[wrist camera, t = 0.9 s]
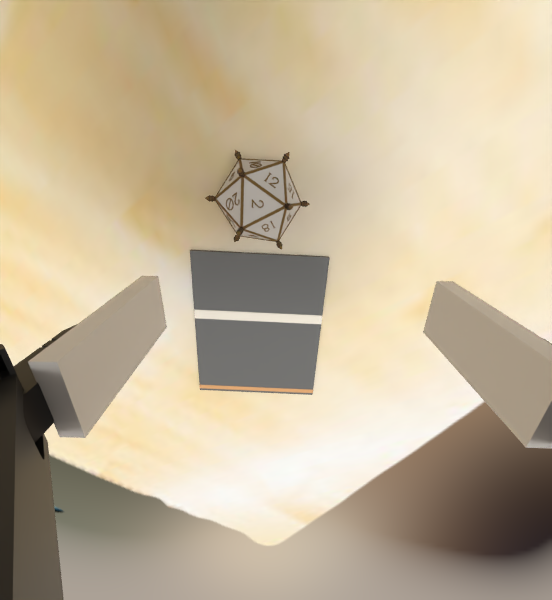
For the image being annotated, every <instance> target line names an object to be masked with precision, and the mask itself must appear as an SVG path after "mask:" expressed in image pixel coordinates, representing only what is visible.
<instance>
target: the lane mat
mask: <svg viewBox="0 0 552 600" xmlns="http://www.w3.org/2000/svg"><path fill="white" fill-rule="evenodd" d="M190 257H191V271H192V285H193V299H194V316H195V326H196V340H197V354H198V368H199V382H200V390H219V391H241V392H264V393H287V394H309V395H312V393H313V385H314V377H315V369H316V361H317V353H318V345H319V337H320V329H321V323H322V313H323V305H324V297H325V289H326V281H327V273H328V265H329V257H322V256H302V255H282V254H261V253H241V252H221V251H201V250H190Z"/></svg>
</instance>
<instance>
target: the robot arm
mask: <svg viewBox="0 0 552 600" xmlns="http://www.w3.org/2000/svg"><path fill="white" fill-rule="evenodd" d="M166 327H167V326H166V320H165V314H164V308H163V302H162V296H161V290H160V285H159V279H158V276H141V277H140V278H139V279H137V280H136V281H135V282H133V283H132V284H131V285H129V286H128V287H127V288H125V289H124V290H123V291H121V292H120V293H119V294H117V295H116V296H115V297H113V298H112V299H111V300H109V301H108V302H107V303H105V304H104V305H103V306H101V307H100V308H99V309H97V310H96V311H95V312H93V313H92V314H91V315H89V316H88V317H87V318H85V319H84V320H83V321H81V322H80V323H79V324H77V325H74V326H72V327H70V328H68V329H66V330H63V331H62V332H61V333H59V334H58V335H56V336H55V337H54V338H52V340H51V341H48V342H47V343H45V344H44V345H43V346H42V348H39V349H37V350H36V351H34V352H33V353H32V354H30V355H29V356H28V357H26V358H25V359H23V360H22V361H21V362H19V363H18V364H17V365H15V366H14V367H13V365H12V363H11V360H10V358H9V356H8V354H7V352H6V349H5V347H4V346H3V345H2V344H0V600H63V590H62V580H61V571H60V560H59V550H58V541H57V530H56V520H55V510H54V500H53V491H52V481H51V471H50V462H49V451H48V442H47V440H46V437H45V435H44V433H45V431H46V430H47V429H48V428H49V427H50V426H51V425H52V424H53V423H54V424H55V427H56V429H57V432H58V434H59V436H60V437H80V438H85V437H86V436H87V435H88V433H89V432H90V430H91V429H92V428H93V426H94V425H95V424H96V422H97V421H98V420H99V418H100V417H101V416H102V414H103V413H104V411H105V410H106V409H107V407H108V406H109V405H110V403H111V402H112V401H113V399H114V398H115V397H116V395H117V394H118V392H119V391H120V390H121V388H122V387H123V386H124V384H125V383H126V382H127V380H128V379H129V377H130V376H131V375H132V373H133V372H134V371H135V369H136V368H137V367H138V365H139V364H140V363H141V361H142V360H143V358H144V357H145V356H146V354H147V353H148V352H149V350H150V349H151V348H152V346H153V345H154V344H155V342H156V341H157V339H158V338H159V337H160V335H161V334H162V333H163V331H164V330H165V329H166ZM423 332H424V333H425V335H426V336H427V337H428V338H429V339H430V340H431V341H432V342H433V344H434V345H435V346H436V347H437V348H438V349H439V350H440V351H441V353H442V354H443V355H444V356H445V357H446V358H447V359H448V360H449V362H450V363H451V364H452V365H453V366H454V367H455V368H456V369H457V371H458V372H459V373H460V374H461V375H462V376H463V377H464V378H465V380H466V381H467V382H468V383H469V384H470V385H471V386H472V387H473V389H474V390H475V391H476V392H477V393H478V394H479V395H480V396H481V398H482V399H483V400H484V401H485V402H486V403H487V404H488V405H489V406H490V408H491V409H492V410H493V411H494V412H495V413H496V414H497V416H498V417H499V418H500V419H501V420H502V421H503V422H504V423H505V424H506V425H507V427H508V428H509V429H510V430H511V431H512V432H513V433H514V435H515V436H516V437H517V438H518V439H519V440H520V441H521V442H522V444H523V445H524V446H525V447H526V448H552V344H551V343H550V342H548V341H546V340H545V339H543V338H541V337H539V336H538V335H536V334H535V333H533V332H531V331H530V330H528V329H527V328H525V327H524V326H522V325H520V324H519V323H517V322H516V321H514V320H513V319H511V318H509V317H508V316H506V315H505V314H503V313H502V312H500V311H498V310H497V309H495V308H494V307H492V306H491V305H489V304H487V303H486V302H484V301H483V300H481V299H480V298H478V297H476V296H475V295H473V294H472V293H470V292H469V291H467V290H465V289H464V288H462V287H461V286H459V285H458V284H456V283H454V282H449V281H437V282H436V285H435V289H434V293H433V297H432V301H431V304H430V308H429V312H428V316H427V319H426V323H425V327H424V331H423Z"/></svg>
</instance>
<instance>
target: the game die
mask: <svg viewBox="0 0 552 600" xmlns="http://www.w3.org/2000/svg"><path fill="white" fill-rule="evenodd" d="M235 156H236V158H237V159H238V161H237V163H236V165H235V166H234V168H233V169H232V171H231V173H230V174H229V176H228V177H227V179H226V180H225V182H224V184H223V185H222V187H221V188H220V190H219V192H218V193H217V195H216V196H215V197H214V196H210V195H209V196H208V197H206V199H207V200H208V201H209V202H210V201H212V202H213V201H216V202H217V204H218V206H219V207H220V209H221V210H222V212H223V213H224V215H225V216H226V218H227V220H228V221H229V223H230V224H231V226H232V227H233V229H234V231H235V232H236V234H237V235H235V237H234V242H236V241H239V239H240V236H241V237H248V238H255V239H261V240H268V241H275V242H277V246H278V248H280V249H282V245H283V244H281V242H280V241H279V240H280V238H281V237H282V235H283V233H284V232H285V230H286V228H287V227H288V225H289V224H290V222H291V220H292V219H293V217H294V216H295V214H296V212H297V211H298V209H299V208H300V206H303V207H304V206H305V207H306V206H308V205H309V203H308V202H307V201H303V202H301V201H300V199H299V196H298V194H297V191H296V189H295V186H294V184H293V181H292V179H291V177H290V174H289V172H288V169H287V167H286V164H285V162H286V161H288V159H289V152H288V153H286V154H284V156H283V159H282V161H277V160H259V159H242V158H241V155H240V152H238V151H236V150H235Z"/></svg>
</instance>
